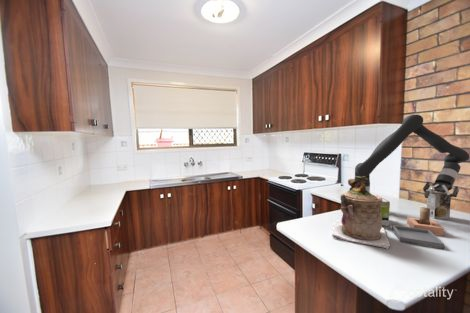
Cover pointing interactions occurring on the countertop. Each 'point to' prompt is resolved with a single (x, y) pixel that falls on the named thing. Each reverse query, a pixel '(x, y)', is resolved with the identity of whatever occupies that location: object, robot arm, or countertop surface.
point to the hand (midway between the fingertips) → (435, 199)
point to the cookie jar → (361, 216)
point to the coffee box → (438, 205)
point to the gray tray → (417, 236)
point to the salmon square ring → (426, 226)
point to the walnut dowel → (424, 216)
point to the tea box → (385, 211)
